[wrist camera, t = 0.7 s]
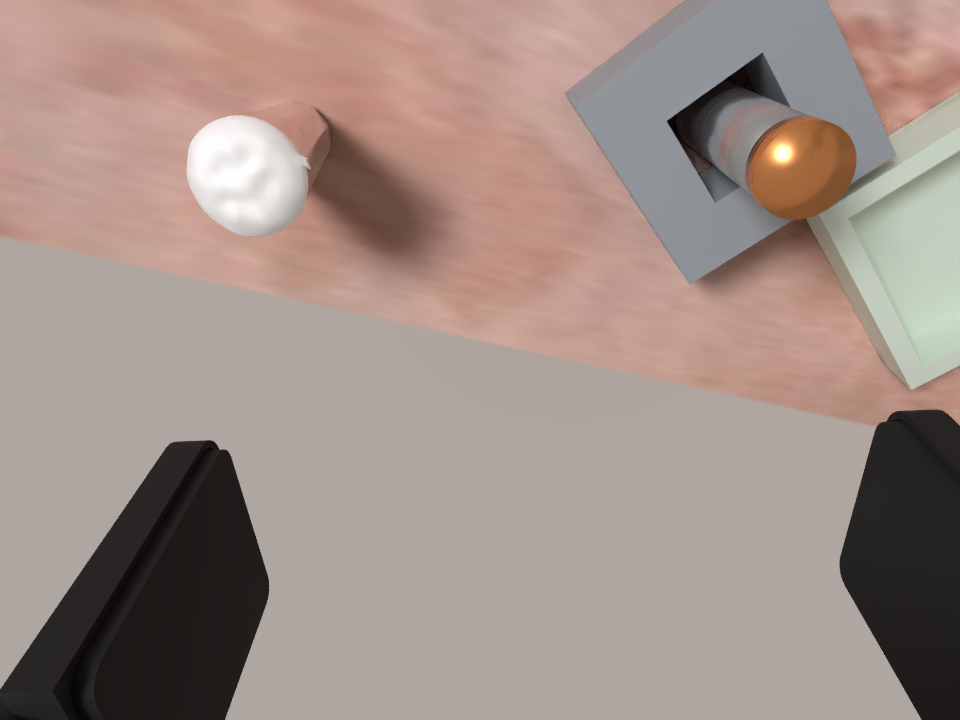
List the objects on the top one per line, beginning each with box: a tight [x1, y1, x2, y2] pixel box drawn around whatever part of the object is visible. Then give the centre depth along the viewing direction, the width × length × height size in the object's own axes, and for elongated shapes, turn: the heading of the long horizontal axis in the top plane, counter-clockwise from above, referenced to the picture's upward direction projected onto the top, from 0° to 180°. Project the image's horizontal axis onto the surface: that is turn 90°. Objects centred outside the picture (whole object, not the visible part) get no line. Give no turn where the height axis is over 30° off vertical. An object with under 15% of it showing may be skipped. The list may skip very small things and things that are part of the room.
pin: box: [676, 80, 857, 220], centre depth 28 cm, size 3×3×11 cm
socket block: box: [565, 0, 896, 284], centre depth 31 cm, size 10×10×4 cm
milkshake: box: [187, 101, 331, 237], centre depth 28 cm, size 5×5×10 cm
